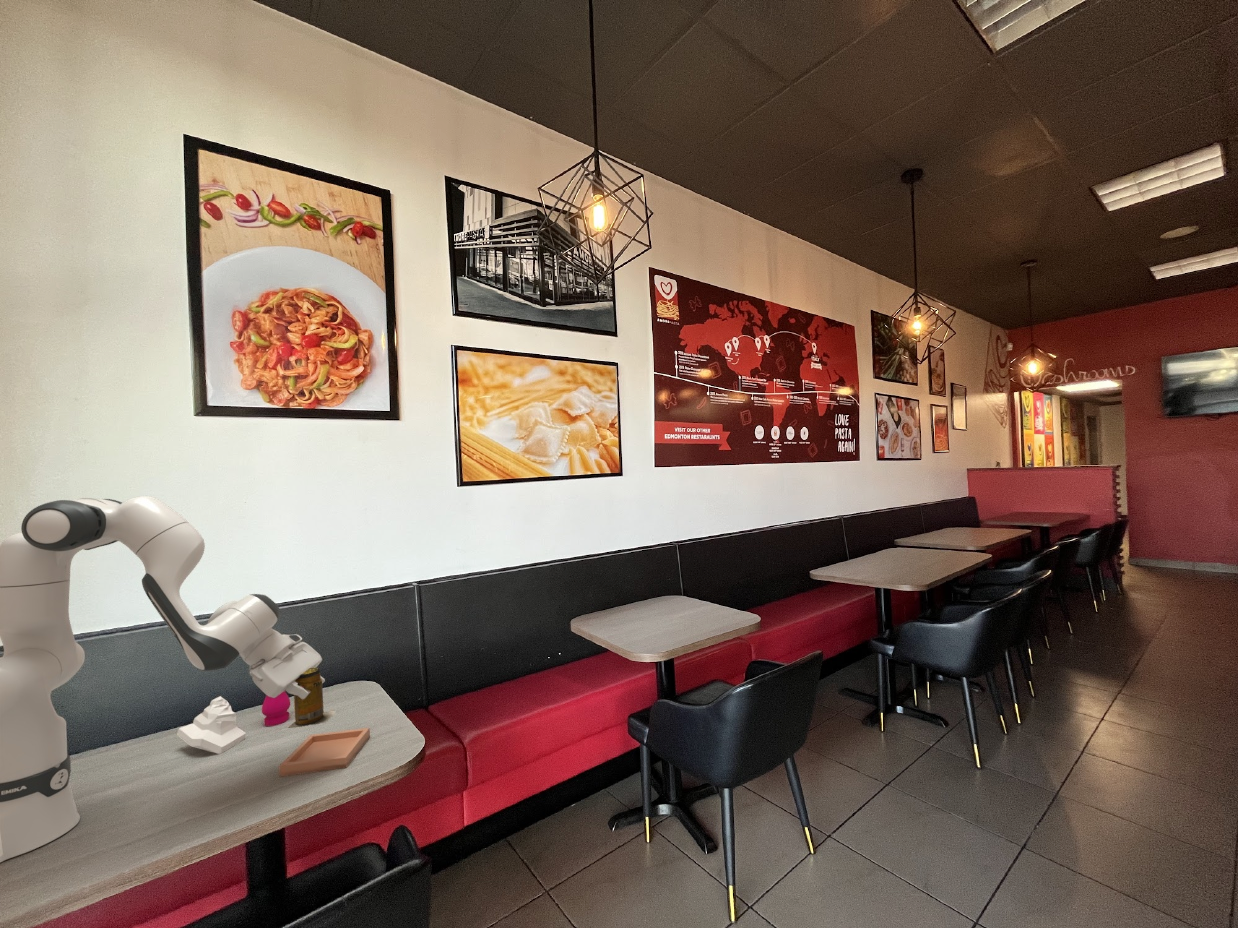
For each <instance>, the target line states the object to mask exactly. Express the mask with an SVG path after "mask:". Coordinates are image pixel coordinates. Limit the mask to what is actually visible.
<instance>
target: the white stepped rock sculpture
mask: <svg viewBox="0 0 1238 928" xmlns="http://www.w3.org/2000/svg"><path fill="white" fill-rule="evenodd" d="M236 720H237V713H236V712H234V711H233V710H232V706H231V704H230V703H229V702H228V700H226V699H225V698H223V697H222V695H220V696H219V695H218V697H216V698H214V699H211V701H210V703H209V705H208V706H207V707H205V708H204V710H203V712H200V714H197V716H195V717H194V719H193V721H192V722H193V723H190V724H187V725H184V726H181V727H179V728H178V730H177V734H176V736H177V737H179V738H180V739H181V740H182V741H184V742H185V743H186V745H188V746H190V747H193V748H197V749H199V750H203V751H206V752H211V753H213V754H218V755H221V754H222V753H224V752H226V751H227V750H230V749H231V748H232V747H235V746H236V745H238V744H240V743H242V742H243V741H245V738H246V735H247V732H245V731H243V730H242V729H241V728H239V727H238V726H237V724H236V723H237V722H236Z"/></svg>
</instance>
